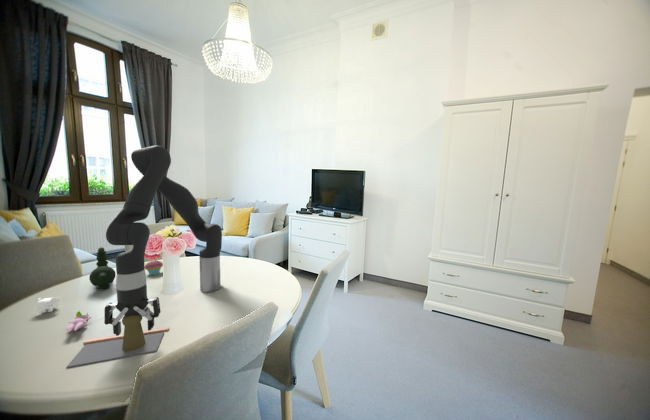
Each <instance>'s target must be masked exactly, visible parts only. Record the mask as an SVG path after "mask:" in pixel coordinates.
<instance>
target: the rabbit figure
mask: <svg viewBox="0 0 650 420" xmlns="http://www.w3.org/2000/svg"><path fill="white" fill-rule="evenodd" d="M90 319H92V316H89V314H88V312H87V313H86V314H85V313H83V314H82V312H81V311H80V310H78V311H77V312H76V314H75V318H74V319H73V320H69V321H68V323H69V324H68V325H67V326H66V327H65V330H66V331H67V332H68V333H70V332H71V331H73V330H74V332H76V331H77V330H79V329H82V328H83V327H84V326H86V325H87V324H88V320H90Z"/></svg>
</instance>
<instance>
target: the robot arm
mask: <svg viewBox="0 0 650 420" xmlns="http://www.w3.org/2000/svg"><path fill="white" fill-rule="evenodd" d="M130 158H131V161H132V164H133V166H134V167H135V168H136V169H137V170H138V172H139V173H140V174H141V175H142V176H141V178H140V179H139V180H138V181H137V182H136V184H134V186H132V188H131V189H130V190H129V192H128V194H127V196H126V199H125V201H124V204H123V207H122V209H121V210H120V211H119V213H118V214H117V215H116V217H115V218H114V219H113V220H112V221H111V222H110V224H109V225H108V227H107V229H106V232H105V238H106V241H107V243H109V244H110V245H113V246H132V249H131V250H127V251H124V252H119V253H118V254H117V255H116V256H115V268H116V271H115V273H116V275H115V288H116V300H117V303H113V302H109V303H107V305H106V306H105V307H104V321H103V322H104V325H106V326H107V325H112V331H113V332H112V333H113V335H116V336H118V335H120V334H122V319H123V317H124V316H131V315H139V314H141V315H142V318H143V317H144V318H146V319H147V330H148V331H149V330H151V329H154V327H155V319H156V318H158V317H159V316H160V314H161V306H160V298H159V297H158V296H156V297H155V298H152V299H149V298H148V289H147V273H146V269H145V265H146V264H145V253H146V249H147V246H148V241H149V238H150V234H151V233H150V232H151V231H150V228H149V226H148V225H147V224H146V223H145V222H140V221H143V220H146V219H147V218H148V217H149V215H150V211H151V208H152V205H153V201H154V198H155V195H156V193H157V191H159V192H160V194H161V195H162V196H163V197H164V199H166V200H167V202H168V203H169V204H170V206H171V207H172V209H174V211H175V212H176V213H177V214H178V215H179V216H180V218H181V219H182V220H183V221H184V222H185V223H186V225H187V226H188V228H189V229H190V231H191V232H192V233H193V236H195V238H196V239H197V240H198V241H200V242H203V243H206V244H205V247H204V248H201V249H200V250H199V287H200V288H199V290H200V292H202V293H213V292H216V291H220V290H221V249H222V244H223V243H222V242H223V240H222V239H223V230H222V228H221V226H220V225H218V224H215V223H209V222H208V223H207V222H206V221H205V220H204V218H202V217H201V215H200V213H199V205H198V201H197V200H196V198H195V196H194V195H193V193H192V192H191V191H190V190H189V189H188V188H187V187H185V186H183V185H182V184H180V183H178V182H176V181H174V180H172V179H171V178H169V177H167V176H166V174H167V173H168V170H169V169H170V166H171V164H172V163H171V162H172V159H171V155H170V152H169V151H168V149H166V148H165V147H164V146H162V145H151V146H146V147H142V148H139V149H135V150H133V151H132V152H131V156H130ZM148 305H150V306H151V307H152V308H153V311H152V310H151V309H150V308H149V307H148ZM115 309H117V310H118V311H119V314H118V315H117V316H116V317H115V318H114V317H113V316H114V315H113V314H114V312H113V311H114V310H115ZM120 320H121V321H120Z"/></svg>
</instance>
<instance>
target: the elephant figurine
mask: <svg viewBox="0 0 650 420" xmlns="http://www.w3.org/2000/svg"><path fill="white" fill-rule="evenodd" d="M59 302H60V299H59V298H58V297H56V296H53V297H46V298H42V297H39V298H37V300H36V301H35V303H34V305H35V306H36V312H38V313H40V314H44V313H46V312H48V313H51V312H53V310H57V309H58V305H59Z"/></svg>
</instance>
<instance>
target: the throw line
mask: <svg viewBox="0 0 650 420" xmlns="http://www.w3.org/2000/svg"><path fill="white" fill-rule="evenodd" d="M169 330H170V326H167V327H165V326H163V327H159V328H152V329H151V330H149V331H148V329H146V330H143V334H144V335H149V334H155V333H162V332H168V331H169ZM123 337H124V333H120V335H118V336H116V334H113V335H107V336H106V335H105V336H100V337H94V338H88V339H85V340H84V341H83V343H82V344H83V345H87V344H93V343H100V342H106V341H112V340H118V339H123Z"/></svg>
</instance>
